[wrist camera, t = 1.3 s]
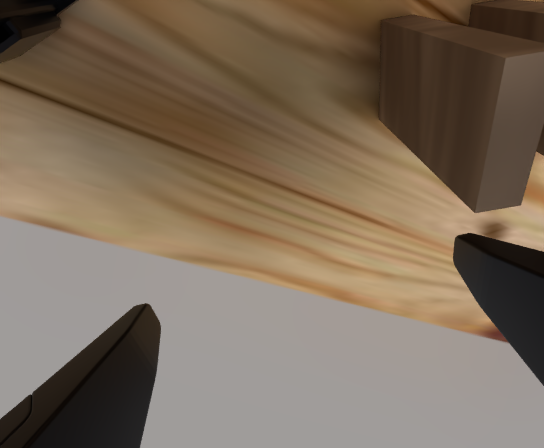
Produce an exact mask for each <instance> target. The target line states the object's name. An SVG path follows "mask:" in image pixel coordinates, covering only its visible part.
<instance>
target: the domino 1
mask: <svg viewBox="0 0 544 448" xmlns="http://www.w3.org/2000/svg"><path fill="white" fill-rule="evenodd" d="M379 120H380V121H381V122H382V123H383V124H384V125H385V126H386V127H387V128H388V129H389V130H390V131H391V132H392V133H393V134H394V135H395V136H396V137H397V138H398V139H400V140H401V141H402V142H403V143H404V144H405V145H406V146H407V147H408V148H409V149H410V150H411V151H412V152H413V153H414V154H415V155H416V156H417V157H418V158H419V159H420V160H421V161H422V162H423V163H424V164H425V165H426V166H427V167H428V168H429V169H430V170H431V171H432V172H433V173H434V174H435V175H436V176H437V177H438V178H439V179H440V180H441V181H442V182H444V183H445V184H446V185H447V186H448V187H449V188H450V189H451V190H452V191H453V192H454V193H455V194H456V195H457V196H458V197H459V198H460V199H461V200H462V201H463V202H464V203H465V204H466V205H467V206H468V207H469V208H470V209H471V210H472V211H473V212H474V213H479V212H485V211H490V210H496V209H502V208H508V207H514V206H520V205H521V203H522V200H523V196H524V192H525V189H526V185H527V182H528V178H529V175H530V171H531V167H532V164H533V160H534V157H535V153H536V150H537V146H538V142H539V139H540V135H541V132H542V128H543V124H544V43H540V42H536V41H531V40H527V39H522V38H518V37H513V36H508V35H504V34H499V33H495V32H490V31H486V30H481V29H476V28H472V27H467V26H463V25H458V24H454V23H449V22H444V21H440V20H435V19H431V18H426V17H422V16H417V15H408V16H403V17H397V18H391V19H385V20H381V45H380V93H379Z"/></svg>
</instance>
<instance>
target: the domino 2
mask: <svg viewBox="0 0 544 448" xmlns="http://www.w3.org/2000/svg"><path fill="white" fill-rule="evenodd" d="M469 27H472V28H476V29H481V30H486V31H490V32H495V33H499V34H504V35H508V36H513V37H518V38H522V39H527V40H531V41H536V42H540V43H544V2H534V1H522V0H495V1H489V2H483V3H478V4H472V6H471V13H470V20H469ZM536 151H537V152H538V153H540V154H542V155H544V124H543V128H542V132H541V135H540V139H539V142H538V146H537V150H536Z"/></svg>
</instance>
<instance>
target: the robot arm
mask: <svg viewBox="0 0 544 448" xmlns="http://www.w3.org/2000/svg"><path fill="white" fill-rule="evenodd" d="M77 1H78V0H0V63H2V62H5V61H8V60H10V59H13V58H16V57H18V56H21V55H22V54H24V53H25V52H26V51H28V50H29V49H31V48H32V47H33V46H35V45H36V44H38V43H39V42H41V41H42V40H43V39H45V38H46V37H48V36H49V35H50V34H52V33H53V32H55V31H56V30H57V29H59V28H60V26H61V20H60V19H59V17H58V16H57V15H59V14H60V13H62V12H63V11H64V10H66V9H67V8H69V7H70V6H71V5H73V4H74V3H76V2H77ZM453 261H454V265H455V267H456V269H457V270H458V272H459V274H460V275H461V277H462V278H463V280H464V282H465V283H466V285H467V287H468V288H469V290H470V291H471V293H472V295H473V296H474V298H475V299H476V301H477V302H478V304H479V305H480V307H481V308H482V309H483V311H484V312H485V313H486V315H487V316H488V317H489V318H490V319H491V321H492V322H493V323H494V324H495V326H496V327H497V328H498V329H499V331H500V332H501V333H502V334H503V336H504V337H505V338H506V339H507V341H508V342H509V343H510V344H511V346H512V347H513V348H514V349H515V351H516V352H517V353H518V354H519V356H520V357H521V358H522V359H523V361H524V362H525V363H526V364H527V366H528V367H529V368H530V369H531V371H532V372H533V373H534V374H535V376H536V377H537V378H538V379H539V381H540V382H541V383H542V384H543V386H544V252H542V251H539V250H535V249H531V248H527V247H523V246H519V245H515V244H512V243H508V242H504V241H500V240H496V239H492V238H488V237H485V236H481V235H477V234H473V233H467V234H462V235H458V236H457V237H456V238H455V242H454V252H453ZM160 334H161V326H160V322H159V320H158V318H157V316H156V315H155V313H154V311H153V309H152V307H151V306H150V305H149V304H146V303H145V304H141V305H136V306H134V307H133V308H132V309H130V310H129V311H128V312H127V313H126V314H125V315H124V316H122V317H121V318H120V319H119V320H118V321H116V322H115V323H114V324H113V325H112V326H110V327H109V328H108V329H107V330H106V331H104V332H103V333H102V334H101V335H100V336H99V337H98V338H96V339H95V340H94V341H93V342H92V343H90V344H89V345H88V346H87V347H86V348H85V349H83V350H82V351H81V352H80V353H79V354H77V355H76V356H75V357H74V358H73V359H72V360H70V361H69V362H68V363H67V364H66V365H64V367H62V368H61V369H60V370H59V371H58V372H56V373H55V374H54V375H53V376H52V377H50V378H49V379H48V380H47V381H46V382H44V383H43V384H42V385H41V386H40V387H39V388H37V389H36V390H35V391H34V392H33V393H32V395H28V396H27V397H26V398H25V399H24V400H23V401H22V402H20V403H19V404H18V405H17V406H16V407H14V408H13V409H12V410H11V411H9V412H8V413H7V414H6V415H5V416H3V417H2V418H1V419H0V448H140V444H141V440H142V435H143V431H144V426H145V422H146V418H147V413H148V409H149V404H150V400H151V396H152V391H153V387H154V382H155V377H156V372H157V364H158V354H159V343H160Z"/></svg>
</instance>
